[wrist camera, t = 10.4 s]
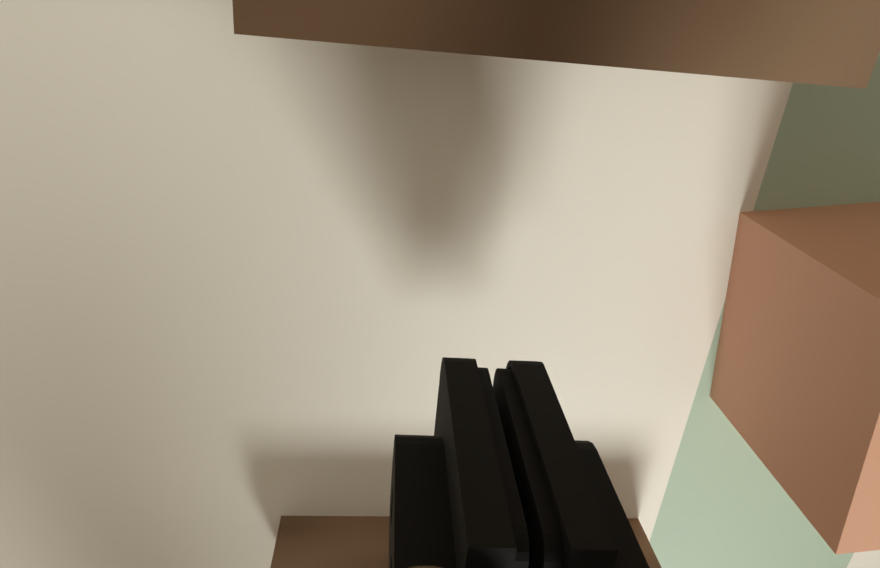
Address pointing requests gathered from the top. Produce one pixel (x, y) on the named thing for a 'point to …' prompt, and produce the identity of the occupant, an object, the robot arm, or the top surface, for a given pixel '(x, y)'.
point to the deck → (392, 256)
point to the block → (809, 361)
